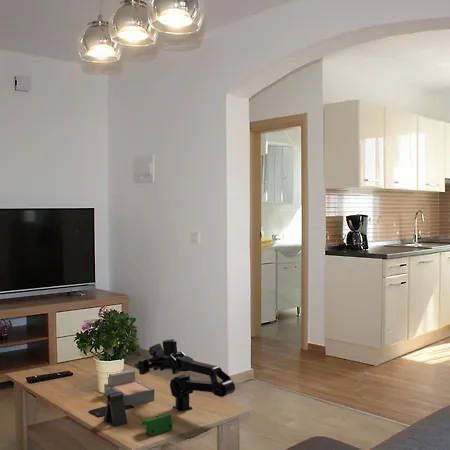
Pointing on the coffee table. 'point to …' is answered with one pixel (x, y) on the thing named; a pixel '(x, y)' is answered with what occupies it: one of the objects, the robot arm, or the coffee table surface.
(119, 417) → the phone stand
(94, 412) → the cell phone
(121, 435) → the coffee table surface
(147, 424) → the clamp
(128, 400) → the flap frame
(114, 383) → the flap
